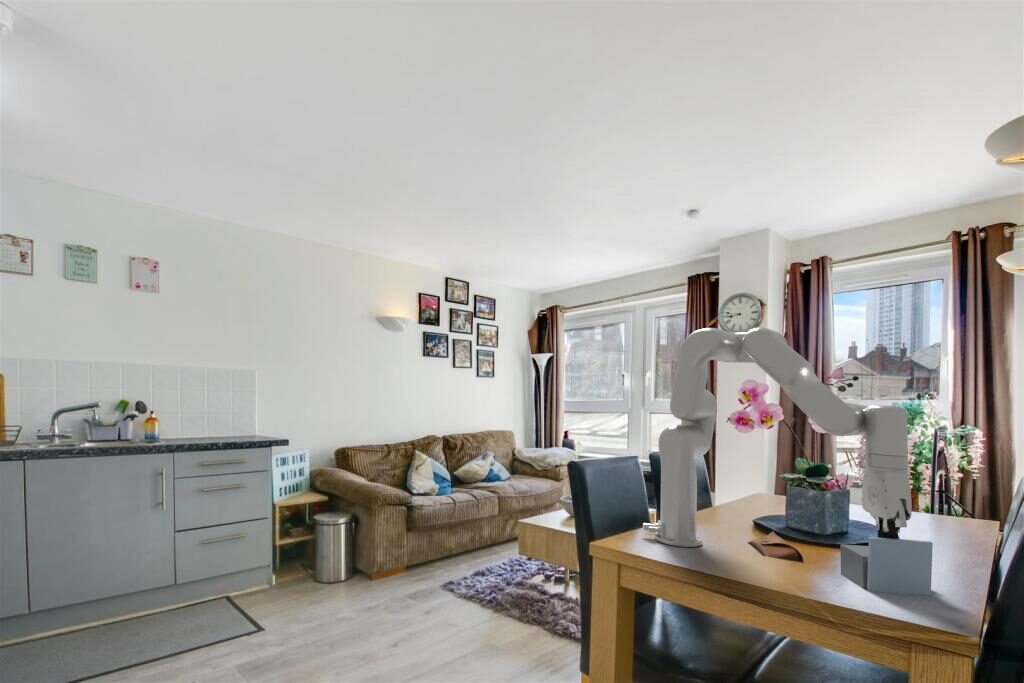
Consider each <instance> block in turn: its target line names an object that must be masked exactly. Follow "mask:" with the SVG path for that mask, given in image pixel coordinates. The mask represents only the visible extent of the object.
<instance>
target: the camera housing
mask: <svg viewBox="0 0 1024 683" xmlns="http://www.w3.org/2000/svg"><path fill="white" fill-rule="evenodd" d="M839 548H840V549H839V550H840V575H841V576H843V577H844V578H846V579H848V580H849V581H851V582H852V583H853V584H855V585H856V586H858V587H860V588H861V589H863V590H867V573H868V545H858V544H857V545H856V544H844V543H843V544H840V546H839Z"/></svg>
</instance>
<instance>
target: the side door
mask: <svg viewBox="0 0 1024 683" xmlns="http://www.w3.org/2000/svg"><path fill="white" fill-rule="evenodd" d="M933 545H934V543H933V541H930V540H920V539H919V540H918V539H917V540H916V539H906V538H905V539H904V538H898V539H891V538H878V537H874V536H869V537H868V545H867V546H868V573H867V589H866V590H867V591H868V592H877V593H888V594H889V593H890V594H900V595H912V596H913V595H917V596H926V597H927V596H928V597H930V596H931V595H932V573H933V570H932V569H933V549H934V548H933Z"/></svg>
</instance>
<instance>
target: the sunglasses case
mask: <svg viewBox="0 0 1024 683" xmlns="http://www.w3.org/2000/svg"><path fill="white" fill-rule="evenodd" d="M747 544H749V545H750V546H751V547H753V548H754V550H757V551H758V553H759V554H761V555H762V556H763V557H765V558H766V557H768V558H773V559H779V560H786V561H787V560H788V561H797V562H804V558H803V555H802V553H801V552H800V551H799V550H798V549H797V548H795V547H794V546H792V545H791V544H790V543H789V542H787V541H786V540H785V539H783V538H782V537H780V536H779V535H777V534H776V533H775V532H774V531H771V532H770V533H769V534H766V535H765V536H762V537H758V538H755V539H753V540H749V541H748V542H747Z"/></svg>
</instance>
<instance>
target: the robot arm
mask: <svg viewBox="0 0 1024 683" xmlns="http://www.w3.org/2000/svg"><path fill="white" fill-rule="evenodd" d="M709 361H717V362H724V363H746V364H747V363H749V364H751V363H753V364H756V365H757V366H758V367H759V368H760V369H761V370H762V371H763V372H765V373H766V374H767V375H768V376H769V377H770V378H771V379H772V380H773V381H774V382H775V383H777V384H778V385H779V387H781V388H782V390H784V392H785V393H786V395H787V396H788V397H789V398H790V399H791V400H792V401H793V403H794V404H795V405H796V406H797V407H798V408H799V409H800V410H801V411H802V412H803V413H804V414H805V415H806V416H807V417H808V418H809V419H810V420H812V422H814V423H815V424H816V425H817V426H818V427H819V428H820V429H822V430H823V431H824V432H826V433H827V434H829V435H831V436H834V437H835V436H836V437H851V436H854V437H855V436H864V437H865V443H864V444H865V447H864V448H865V466H864V467H865V468H864V471H863V478H862V479H863V480H862V489H861V490H862V491H861V492H862V493H861V495H862V496H861V507H862V509H863V510H864V511H865V512H867V513H868V514H870V517H872V518H873V519H874V520H875V527H876V529H877V538H891V539H899V533H900V531H901V528H907V527H908V524H907V521H910V520H911V518H912V509H913V506H912V503H913V502H912V492H911V485H910V479H909V478H910V477H909V442H908V441H909V440H908V438H909V437H908V412H907V411H906V409H905V408H904V407H902V406H897V405H883V404H882V405H881V404H874V405H873V404H872V405H864V404H857V403H851V402H845V401H843V399H841V398H840V397H839V396H837V395H836V394H835V393H834V392H833V391H832V390H831V389H829V388H828V387H827V386H826V385H825V384H824V383H823V382H822V381H821V380H820V379H819V377H818V376H817V375H816V373H815V369H814V367H813V365H811V363H810V362H809V361H808V360H807V359H805V358H804V357H803V356H802V355H800V354H799V353H798V352H797V351H796V350H795V349H794V348H792V347H791V346H790V345H789V344H788V341H787V339H786V337H784V336H783V334H781V333H780V332H778V331H776V330H772V329H770V328H768V327H761V326H759V327H758V326H757V327H754V328H751V329H749V330H748V331H747V332H730V331H727V330H723V329H721V328H715V327H704V328H701V329H697V330H695V331H693V332H691V333H690V334H689V335H688V336H686V338H685V339H684V340H683V342H682V343H681V345H680V348H679V352H678V357H677V364H676V369H675V370H676V372H675V375H674V381H673V385H672V391H671V397H670V401H669V410H670V412H671V414H672V416H673V417H674V418H676V419H678V420H680V421H682V424H672V425H670V426H667V427H665V429H663V430H662V431H661V433H660V434H659V438H658V452H659V459H660V517H659V518H660V519H658V520H657V522H654V523H647V522H642V530H643V531H648V532H649V533H654V536H653V537H654V539H655V540H656V541H658V542H660V543H661V544H665V545H668V546H675V547H682V548H683V547H685V548H694V547H699V546H701V545H702V544H703V539H702V537H700V536H699V535H697V513H698V512H697V508H698V506H697V505H698V504H697V503H698V502H697V501H698V477H697V473H698V472H697V466H696V463H695V459H696V458H700V457H702V456H704V455H705V454H707V452H709V450H710V447H711V444H712V439H713V436H714V435H713V434H714V430H715V423H716V420H717V415H718V414H717V413H718V403H717V399H716V397H715V396H714V394H713V393H712V392H711V391H710V390H708V389H707V388H706V387H707V384H708V383H707V382H708V379H709V378H708V377H709V366H708V364H709Z"/></svg>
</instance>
